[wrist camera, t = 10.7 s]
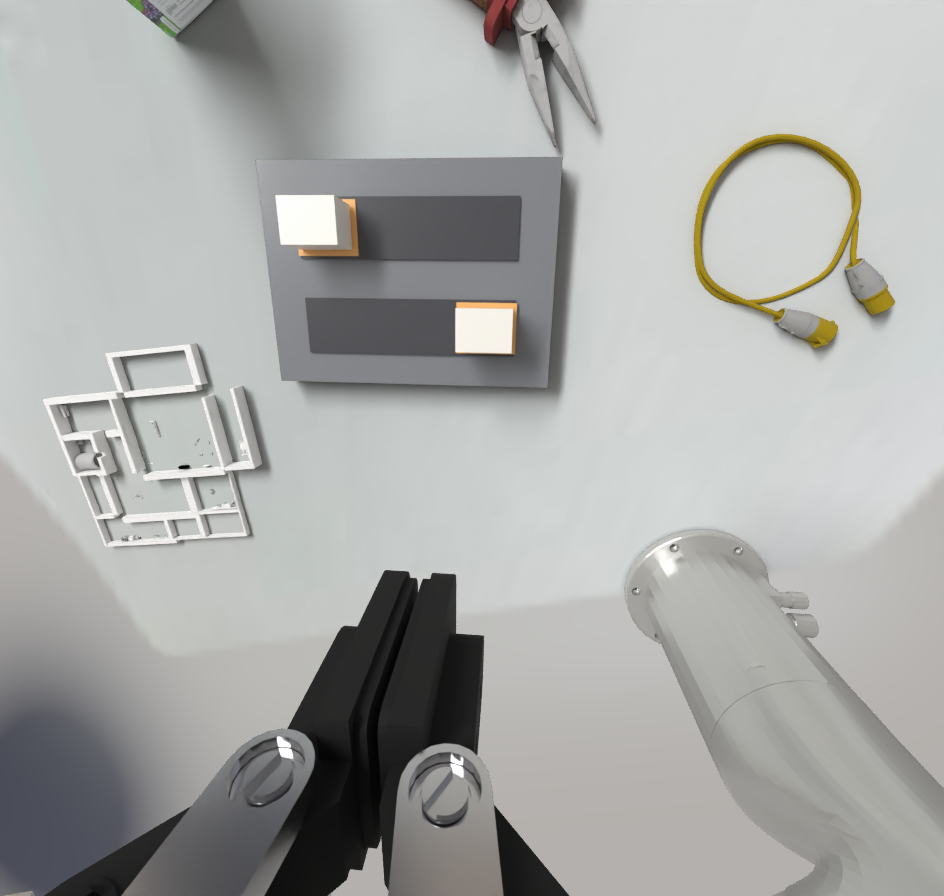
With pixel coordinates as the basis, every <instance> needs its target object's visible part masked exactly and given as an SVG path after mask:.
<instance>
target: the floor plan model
mask: <svg viewBox="0 0 944 896" xmlns="http://www.w3.org/2000/svg"><path fill="white" fill-rule="evenodd" d="M179 350H185V354H186V357H187V361H188V364H189V368H190V371H191V375H192V378H193V381H194V385H184V386H174V387H163V388H153V389H143V390H132V391H131V389H130V386H129V383H128V380H127V377H126V374H125V371H124V368H123V365H122V362H121V359H120V357H122V356H132V355H141V354H150V353H160V352H169V351H179ZM105 355H106V357H107V360H108V363H109V366H110V369H111V372H112V375H113V378H114V381H115V384H116V387H117V389H118V391H114V392H103V393H93V394H83V395H72V396H62V397H54V398H49V399H44V400H43V402H44V404H45V406H46V408H47V411H48V413H49V416H50V418H51V421H52V423H53V426H54V428H55V431H56V433H57V436H58V438H59V441H60V443H61V446H62V448H63V451H64V453H65V456H66V458H67V461H68V463H69V466H70V469H71V471H72V474H73V476H78V478H79V481H80V484H81V486H82V489H83V491H84V494H85V496H86V499H87V501H88V504H89V506H90V509H91V511H92V514H93V516H94V519H95V522H96V524H97V527H98V529H99V532H100V534H101V537H102V539H103V542H104V544H105V547H111V546H129V545H130V546H133V545H151V544H169V543H178V542H179V541H181V540H185V539H202V538H220V537H238V536H248V535H249V534H250V530H249V527H248V523H247V519H246V516H245V512H244V509H243V506H242V502H241V499H240V495H239V492H238V488H237V485H236V481H235V478H234V474H233V470H243V469H255V468H256V467H258V466H259V465H261V464H263V463H262V459H261V455H260V452H259V448H258V444H257V440H256V436H255V432H254V428H253V425H252V421H251V417H250V413H249V409H248V405H247V401H246V398H245V394H244V390H243V386H238V387H234V388H231V389H230V391H231V394H232V398H233V402H234V405H235V409H236V413H237V416H238V420H239V424H240V428H241V431H242V435H243V439H244V441H239V444H240V448H241V450H242V451H243V452H244V454H241V455H248V458H249V461H241V462H233V460H232V457H231V453H230V449H229V446H228V442H227V439H226V435H225V432H224V428H223V424H222V421H221V417H220V414H219V410H218V407H217V403H216V399H215V396H214V395H209V396H206V397H203V398H201V399H202V402H203V406H204V409H205V413H206V416H207V420H208V423H209V426H210V430H211V433H212V437H213V440H214V444H215V447H216V451H217V454H218V458H219V461H220V464H221V467H209V468H195V469H187V468H189V465H185V466H184V465H183V466H182V465H181V466H179V469H182V470H168V471H155V472H151V473H148V474H146V475H144V476H143V478H144V481H146V480H159V479H173V478H180V479H181V482H182V485H183V488H184V491H185V494H186V497H187V500H188V504H189V507H190V510H191V511H182V512H166V513H150V514H134V515H126V516H124V517H122V519H123V522H124V523H132V522H148V521H164V523H165V526H166V529H167V532H168V535H169V538H153V539H141V537H135V536H124V537H122V538H121V539H122V540H118V541H111V538H110V536H109V533H108V530H107V528H106V525H105V523H104V520H103V519H111V518H116V517H118V516H120V515H119V514H121V513H123V510H122V507H121V505H120V502H119V499H118V497H117V494H116V491H115V488H114V486H113V483H112V480H111V478H110V475H109V474H111V473H114V472H116V471H118V470H117V467H116V465H115V462H114V459H113V456H112V453H111V450H110V448H109V445H108V442H107V439H106V437H105V434H106V436H107V437H117V436H121V440H122V443H123V446H124V449H125V452H126V455H127V458H128V461H129V464H130V467H131V470H132V473H138V472H140V471H142V470H144V469H146V466H145V463H144V460H143V457H142V455H141V452H140V449H139V446H138V442H137V439H136V436H135V433H134V430H133V427H132V424H131V422H130V420H129V417H128V414H127V411H126V408H125V405H124V402H123V399H122V398H124V397H125V398H128V397H139V396H149V395H160V394H171V393H181V392H192V391H198V390H202V389H203V388H202V385H203V384H207V383H208V382H207V379H206V375H205V372H204V368H203V364H202V361H201V357H200V354H199V350H198V347H197V344H189V345H180V346H170V347H161V348H152V349H142V350H133V351H124V352H114V353H106V354H105ZM98 400H109V403H110V406H111V409H112V412H113V415H114V418H115V421H116V424H117V427H118V429H114V430H109V431H105V434H104V431H103V430H95V431H82V432H73V431H72V429H71V426H70V423H69V421H68V418H67V417H68V416H70V414H69V411H68V409H67V407H66V405H62V404H66V403H76V402H87V401H98ZM150 422H153V425H154V428H155V430H156V433H157V435H158V437H160V434H159V431H158V428H157V425H156V422H155V421H150ZM82 439H84V440H86V439H90V441H91V443H92V446H93V449H94V451H95V452H92V453H81V452H80V449H79V447H78V445H81V444H84V442H83V440H82ZM76 440H78V441H77V442H76ZM199 440H200V439H199ZM197 441H198V440H197ZM208 442H209V441H208ZM196 444H198V443H195V446H196ZM209 444H210V442H209ZM246 451H247V454H245V452H246ZM99 452H101V453H102V455H103V456H101V457H99V458H97V460H98V462H99V465H100V467H98V466H97V465H96V464H95V463H94V457H95V456H96V455H97V454H100V453H99ZM142 453H143V451H142ZM199 455H200V454H199ZM202 455H203V454H202ZM212 455H213V453H212ZM200 456H201V455H200ZM144 459H145V458H144ZM147 464H153V463H147ZM204 466H209V465H204ZM202 467H203V466H202ZM227 473H228V476H229V480H230V483H231V488H232V492H233V495H234V499H235V502H236V504H235V502H225V503H223V504H219V505H217V506H214V507H213V508H211V509H202V506H201V503H200V499H199V496H198V493H197V490H196V487H195V483H194V480H193V477H201V476H215V475H225V474H227ZM87 475H97V476H99V478H100V481H101V484H102V486H103V489H104V492H105V494H106V497H107V499H108V502H109V505H110V507H111V510H112V513H106V514H101V512H100V509H99V507H98V504H97V502H96V499H95V496H94V494H93V491H92V489H91V486H90V484H89V481H88V478H87ZM213 491H214V492H213ZM210 492H211V494H215V490H213V489H210ZM141 495H142V494H141ZM136 497H139V495H137V496H136ZM142 498H143V497H142ZM233 512H239V515H240V519H241V522H242V526H243V529H244V532H240V533H222V534H210V532H209V529H208V526H207V522H206V519H205V516H204V514H217V513H233ZM190 518H196V521H197V524H198V527H199V530H200V533H201V535H187V536H177V533H176V530H175V527H174V524H173V521H172V520H173V519H175V520H176V519H190ZM176 522H177V521H176ZM176 524H177V523H176ZM168 535H165V537H166V536H167V537H168ZM154 536H155V537H157V536H159V535H154ZM135 539H136V540H135Z"/></svg>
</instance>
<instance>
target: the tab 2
mask: <svg viewBox="0 0 944 896" xmlns="http://www.w3.org/2000/svg"><path fill="white" fill-rule="evenodd" d="M512 327H513V309H499V308H455V352H469V353H511V352H512Z"/></svg>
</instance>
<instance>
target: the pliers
mask: <svg viewBox="0 0 944 896" xmlns="http://www.w3.org/2000/svg"><path fill="white" fill-rule="evenodd" d="M472 1H473V2H475V3H476V4H477V5H479V6H480V7H481V8H482V9H484V10H485V11H486V12H487V15H486V18H485V21H484V38H485V40H486V41H487V42H489V43H490V44H491V45H492V46H493V45H494V43H495V41H496V39H497V38H498V36H499V34H500V32H501V30H502V28H503V27H504V28H506V29H507V30H508V31H511V30H512V28H513V26H514V24H515V31H516V36H517V40H518V45H519V49H520V54H521V59H522V64H523V68H524V72H525V77H526V81H527V85H528V87H529V90H530V92H531V94H532V97H533V99H534V101H535V103H536V106H537V108H538V110H539V113H540V115H541V117H542V120H543V122H544V124H545V127H546V129H547V131H548V134H549V136H550V138H551V140H552V143H553V145H554V147H556V139H555V133H554V128H553V122H552V116H551V110H550V105H549V99H548V93H547V87H546V81H545V76H544V71H543V65H542V60H541V58H540V55H539V50H538V45H537V43H538V42H539V41H540V43H542V42H544V41H549V43H550V44H551V46H552V48H553V49H554V55H553V60H552V62H553V64H554V65H555V67H556V68H557V70H558V72H559V73H560V75H561V76H562V78H563V80H564V81H565V83H566V84H567V85H568V87H569V88H570V90H571V91H572V93H573V94H574V96H575V97H576V99H577V100H578V102H579V103H580V104H581V106H582V107H583V109H584V110H585V112H586V113H587V115H588V116H589V118H590V119H591V121H592V122H593V123H594V124H595V123H596V118H595V115H594V112H593V109H592V106H591V103H590V100H589V96H588V93H587V90H586V87H585V84H584V81H583V78H582V75H581V71H580V68H579V65H578V62H577V59H576V56H575V53H574V50H573V47H572V45H571V43H570V41H569V39H568V37H567V35H566V33H565V31H564V29H563V27H562V26H561V24H560V22H559V20H558V18H557V17H556V15H555V13H554V12H553V10H552V8H551V7H550V5H549V3H548V0H472Z"/></svg>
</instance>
